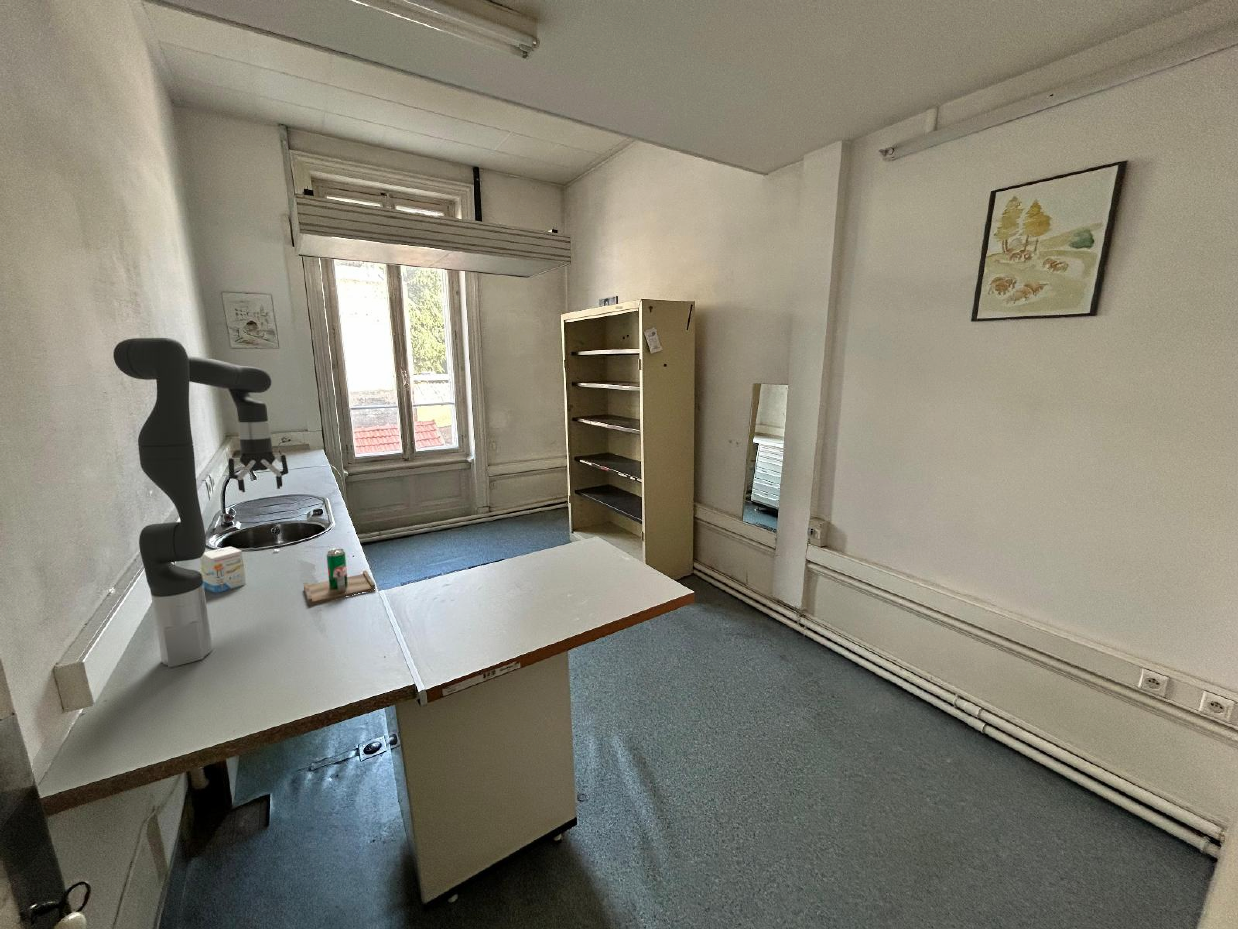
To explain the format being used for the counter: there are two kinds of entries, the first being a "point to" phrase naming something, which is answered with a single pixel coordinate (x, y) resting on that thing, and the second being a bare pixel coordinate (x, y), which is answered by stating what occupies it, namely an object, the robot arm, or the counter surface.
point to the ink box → (222, 569)
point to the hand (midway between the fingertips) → (261, 490)
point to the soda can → (336, 567)
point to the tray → (333, 594)
